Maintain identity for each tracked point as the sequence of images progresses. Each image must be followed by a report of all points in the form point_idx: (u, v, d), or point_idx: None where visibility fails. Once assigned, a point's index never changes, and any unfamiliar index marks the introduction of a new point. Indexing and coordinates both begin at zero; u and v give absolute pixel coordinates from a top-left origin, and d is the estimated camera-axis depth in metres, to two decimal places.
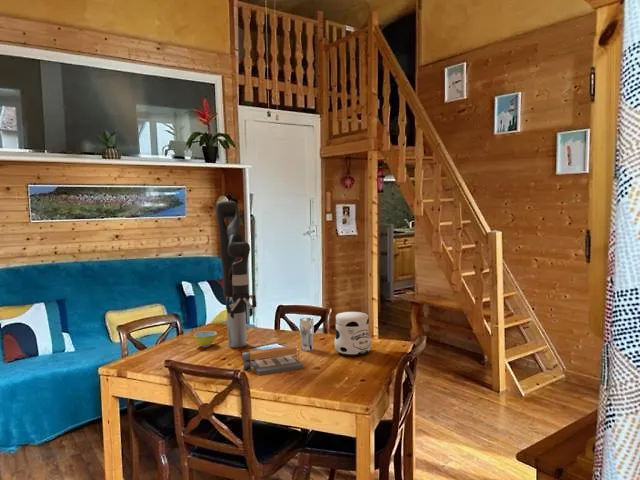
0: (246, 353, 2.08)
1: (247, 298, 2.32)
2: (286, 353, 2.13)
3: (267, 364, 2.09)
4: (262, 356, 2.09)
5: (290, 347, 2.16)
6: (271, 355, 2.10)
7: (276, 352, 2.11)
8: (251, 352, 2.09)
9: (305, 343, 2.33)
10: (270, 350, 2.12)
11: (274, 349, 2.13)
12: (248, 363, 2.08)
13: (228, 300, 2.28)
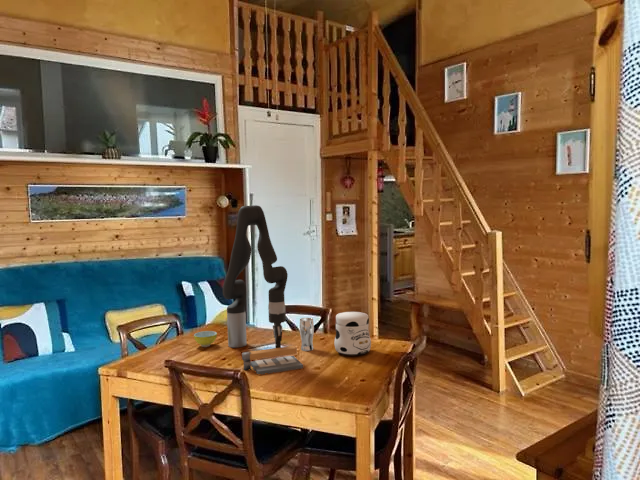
0: (246, 353, 2.08)
1: None
2: (286, 353, 2.13)
3: (267, 364, 2.09)
4: (262, 356, 2.09)
5: (290, 347, 2.16)
6: (271, 355, 2.10)
7: (276, 352, 2.11)
8: (251, 352, 2.09)
9: (305, 343, 2.33)
10: (270, 350, 2.12)
11: (274, 349, 2.13)
12: (248, 363, 2.08)
13: (281, 334, 2.12)
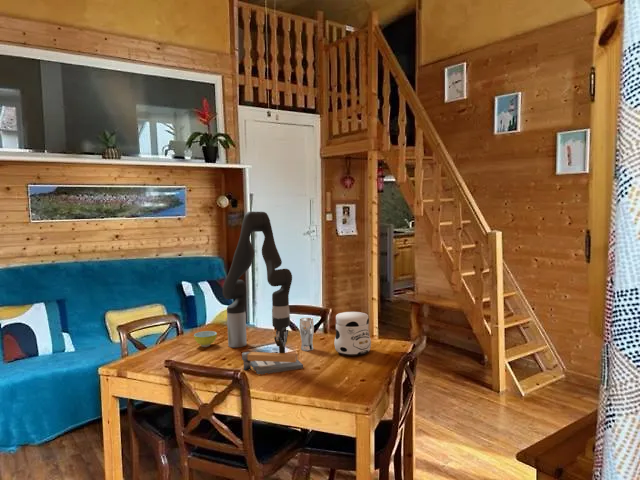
0: (246, 353, 2.08)
1: None
2: (284, 360, 2.03)
3: (267, 364, 2.09)
4: (259, 359, 2.05)
5: (291, 354, 2.05)
6: (268, 359, 2.05)
7: (273, 357, 2.04)
8: (251, 353, 2.08)
9: (305, 343, 2.33)
10: (270, 354, 2.07)
11: (274, 354, 2.06)
12: (248, 363, 2.08)
13: (280, 339, 2.03)
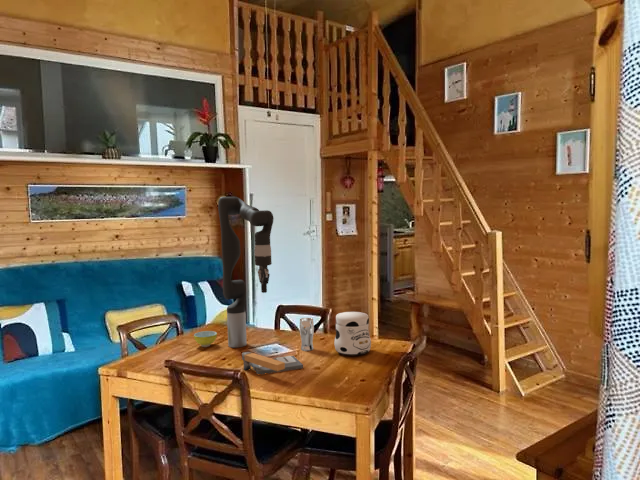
0: (246, 353, 2.08)
1: None
2: (269, 367, 1.95)
3: None
4: (252, 361, 2.03)
5: (278, 362, 1.95)
6: (258, 363, 2.00)
7: (262, 362, 1.98)
8: (250, 354, 2.07)
9: (305, 343, 2.33)
10: (263, 358, 2.01)
11: (265, 358, 2.00)
12: (248, 363, 2.08)
13: None
